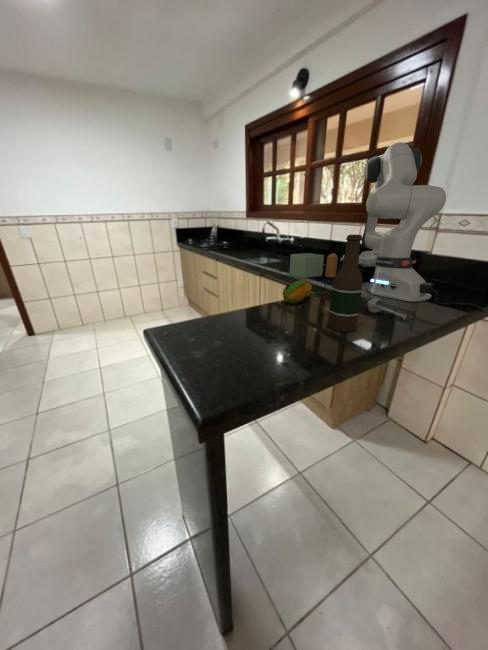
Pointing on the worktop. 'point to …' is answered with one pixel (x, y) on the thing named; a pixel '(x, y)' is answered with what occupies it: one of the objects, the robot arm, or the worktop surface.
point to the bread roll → (331, 265)
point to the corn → (296, 291)
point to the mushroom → (381, 307)
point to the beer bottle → (347, 289)
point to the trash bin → (306, 265)
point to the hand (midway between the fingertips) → (347, 260)
